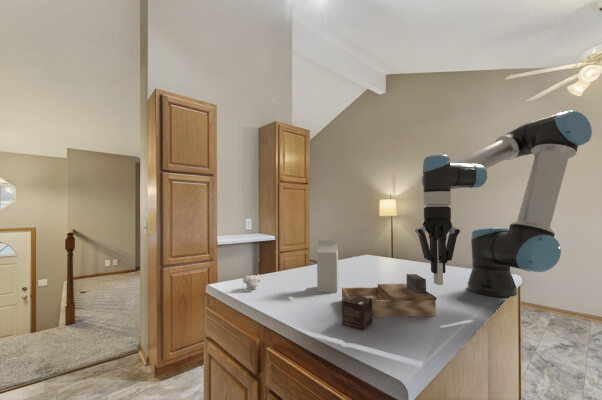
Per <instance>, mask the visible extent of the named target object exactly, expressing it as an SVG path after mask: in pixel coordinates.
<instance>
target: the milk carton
mask: <svg viewBox="0 0 602 400" xmlns="http://www.w3.org/2000/svg"><path fill="white" fill-rule="evenodd" d="M317 243H318V244H317V249H316V273H317V274H316V279H317V280H316V283H317V288H316V289H317V292H318V293H338V291H339V247H338V240H332V239H331V240H330V239H329V240H328V239H327V240H326V239H324V240H323V239H320V240H318V242H317Z"/></svg>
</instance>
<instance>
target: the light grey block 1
mask: <svg viewBox="0 0 602 400" xmlns="http://www.w3.org/2000/svg"><path fill="white" fill-rule="evenodd" d="M365 297H368V298H372V300H378V298H377V297H375V296H365Z"/></svg>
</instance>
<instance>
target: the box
mask: <svg viewBox="0 0 602 400" xmlns="http://www.w3.org/2000/svg"><path fill="white" fill-rule="evenodd" d="M372 325H373V316H372V298H368V297H362V296H356V295H351V296H349V297H347V298H345V299H343V300H342V299H341V326H343V327H345V328H349V329H353V330H358V331H361V332H365V331H366V330H368V328H369V327H371V326H372Z"/></svg>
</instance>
